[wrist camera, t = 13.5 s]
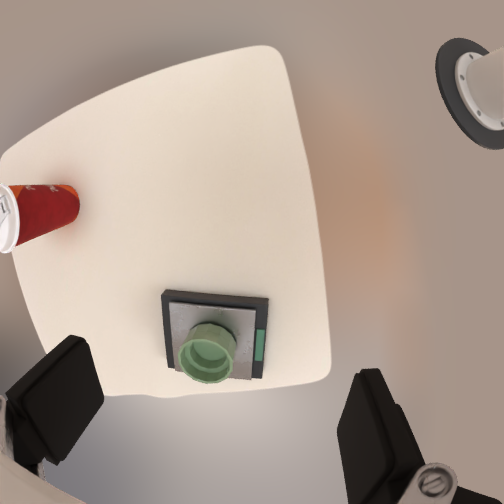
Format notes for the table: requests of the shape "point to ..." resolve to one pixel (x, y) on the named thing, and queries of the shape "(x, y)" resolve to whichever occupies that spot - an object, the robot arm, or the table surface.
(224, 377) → the bowl
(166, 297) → the scale base
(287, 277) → the table surface
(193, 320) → the platform
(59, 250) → the table surface
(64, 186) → the coffee cup
